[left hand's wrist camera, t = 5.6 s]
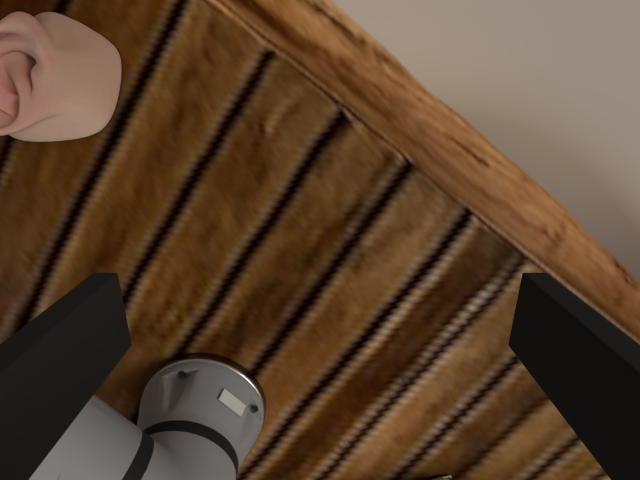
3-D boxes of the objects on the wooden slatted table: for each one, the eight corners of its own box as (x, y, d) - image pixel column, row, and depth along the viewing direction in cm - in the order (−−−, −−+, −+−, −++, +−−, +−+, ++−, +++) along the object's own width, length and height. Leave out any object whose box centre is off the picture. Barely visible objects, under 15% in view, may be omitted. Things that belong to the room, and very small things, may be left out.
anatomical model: (93, 8, 31) (109, 154, 35) (118, 18, 34) (129, 149, 38) (-78, -7, 30) (-42, 142, 34) (-34, 4, 34) (-7, 138, 38)
